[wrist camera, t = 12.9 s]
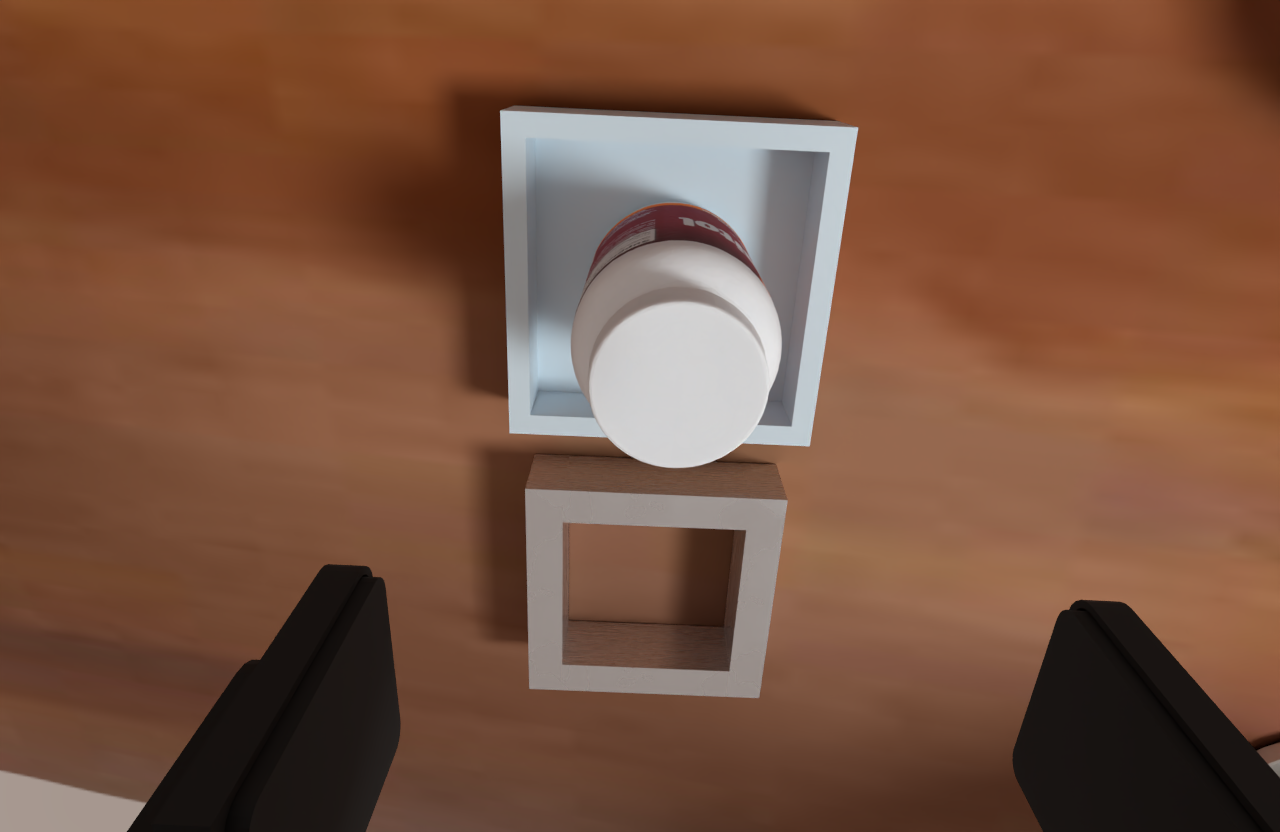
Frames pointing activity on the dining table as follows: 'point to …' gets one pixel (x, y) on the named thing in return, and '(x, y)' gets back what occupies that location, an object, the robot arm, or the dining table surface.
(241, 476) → the dining table surface
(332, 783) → the robot arm
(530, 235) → the tray
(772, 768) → the dining table surface
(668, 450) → the pill bottle
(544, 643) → the holder
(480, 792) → the dining table surface
